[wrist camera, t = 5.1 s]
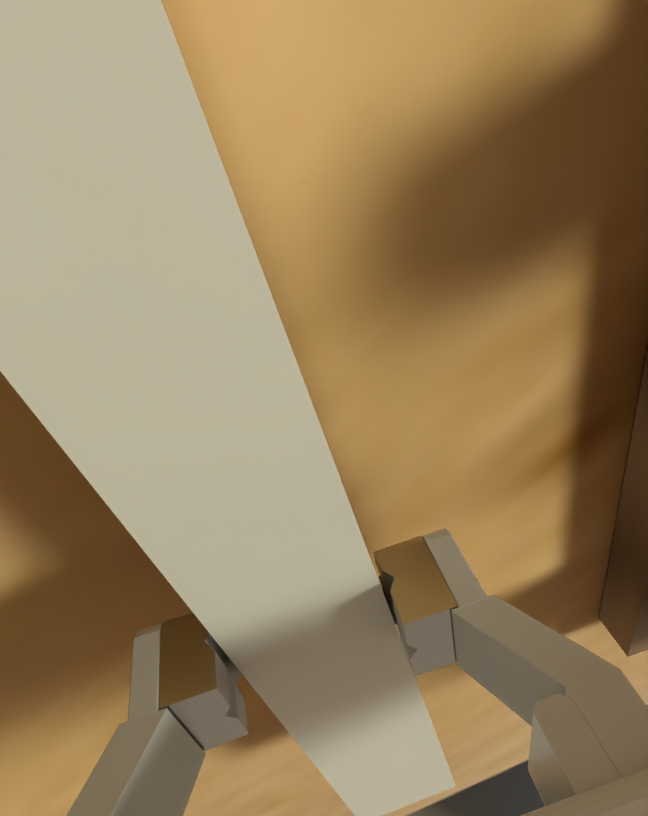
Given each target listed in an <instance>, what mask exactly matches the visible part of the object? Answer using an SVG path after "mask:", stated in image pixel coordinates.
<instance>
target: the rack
mask: <svg viewBox="0 0 648 816" xmlns="http://www.w3.org/2000/svg"><path fill="white" fill-rule="evenodd" d="M599 619H600V620H601V621H602V623H603V624H604V626H605V627H606V628H607V630H608V631H609V632H610V634H611V635H612V636H613V638H614V639H615V640H616V642H617V643H618V644H619V646H620V647H621V648H622V650H623V651H624V652H625V654H626V655H627V656H631V655H634V654H636V653H639V652H642V651H645V650H648V347H647V353H646V358H645V364H644V369H643V375H642V381H641V386H640V392H639V397H638V403H637V409H636V414H635V420H634V425H633V431H632V437H631V442H630V448H629V453H628V459H627V465H626V470H625V476H624V481H623V487H622V493H621V498H620V504H619V509H618V515H617V521H616V526H615V532H614V537H613V543H612V549H611V554H610V560H609V565H608V571H607V577H606V582H605V588H604V593H603V599H602V605H601V610H600V616H599Z"/></svg>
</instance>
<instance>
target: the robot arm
mask: <svg viewBox="0 0 648 816" xmlns="http://www.w3.org/2000/svg"><path fill="white" fill-rule="evenodd" d="M374 558H375V562H376V565H377V568H378V571H379V573H380V576H379V579H380V583H381V587H382V590H383V593H384V596H385V599H386V601H387V604H388V607H389V609H390V612H391V615H392V617H393V620H394V623H395V624H396V625H397V626H398V630H399V634H400V639H401V643H402V646H403V648H404V651H405V653H406V656H407V659H408V661H409V664H410V666H411V669H412V671H413V674H414V676H416V675H419V674H422V673H425V672H428V671H431V670H435V669H438V668H441V667H444V666H447V665H450V664H453V663H456V662H457V665H458V666H459V667H460V668H461V669H463V670H464V671H465V672H466V673H468V674H469V675H470V676H471V677H472V678H474V679H475V680H476V681H477V682H478V683H480V684H481V685H482V686H483V687H485V688H486V689H487V690H488V691H489V692H491V693H492V694H493V695H494V696H496V697H497V698H498V699H499V700H500V701H502V702H503V703H504V704H505V705H507V706H508V707H509V708H510V709H511V710H513V711H514V712H515V713H516V714H518V715H519V716H520V717H521V718H522V719H524V720H525V721H526V722H527V723H528V724H530V725H531V726H532V731H531V742H530V754H529V766H528V771H529V773H530V775H531V777H532V779H533V781H534V784H535V786H536V787H537V790H538V792H539V794H540V796H541V798H542V800H543V802H544V804H545V807H543V808H540V809H538V810H535V811H532V812H529V813H527V814H524V815H522V816H648V707H647V706H646V704H645V703H644V702H643V700H642V699H641V697H640V696H639V695H638V693H637V692H636V690H635V689H634V688H633V686H632V685H631V684H630V682H629V681H628V679H627V678H626V677H625V675H624V674H623V672H622V671H621V670H620V669H619V668H617V667H616V666H614V665H612V664H611V663H609V662H607V661H606V660H604V659H602V658H600V657H599V656H597V655H595V654H594V653H592V652H590V651H589V650H587V649H585V648H584V647H582V646H580V645H578V644H577V643H575V642H573V641H572V640H570V639H568V638H567V637H565V636H563V635H562V634H560V633H558V632H556V631H555V630H553V629H551V628H550V627H548V626H546V625H545V624H543V623H541V622H540V621H538V620H536V619H534V618H533V617H531V616H529V615H528V614H526V613H524V612H523V611H521V610H519V609H518V608H516V607H514V606H513V605H511V604H509V603H507V602H506V601H504V600H502V599H501V598H499V597H497V596H496V595H493V596H489V597H487V596H486V594H485V592H484V591H483V589H482V587H481V585H480V584H479V582H478V580H477V578H476V577H475V575H474V573H473V571H472V570H471V568H470V566H469V564H468V563H467V561H466V559H465V557H464V556H463V554H462V552H461V551H460V549H459V547H458V545H457V544H456V542H455V540H454V538H453V537H452V535H451V533H450V532H449V531H448V530H447V529H446V528H444V529H441V530H438V531H435V532H432V533H429V534H427V535H424V536H418V537H415V538H412V539H410V540H407V541H404V542H401V543H398V544H395V545H393V546H390V547H387V548H384V549H381V550H378V551H375V552H374ZM241 677H242V673H241V672H240V671H239V670H238V668H237V667H236V666H235V665H234V663H233V662H232V661H231V660H230V658H229V657H228V656H227V655H226V653H225V652H224V651H223V650H222V648H221V647H220V646H219V645H218V643H217V642H216V641H215V640H214V638H213V637H212V636H211V635H210V633H209V632H208V631H207V630H206V628H205V627H204V626H203V624H202V623H201V622H200V621H199V619H198V618H197V617H196V616H195V614H194V613H190V614H187V615H184V616H181V617H178V618H174V619H171V620H168V621H165V622H161V623H158V624H155V625H152V626H149V627H146V628H143V629H140V630H137V632H136V635H135V638H134V641H133V654H132V668H131V681H130V695H129V709H128V721H126V722H123V723H121V724H119V726H118V728H117V729H116V731H115V733H114V735H113V736H112V738H111V740H110V741H109V743H108V745H107V747H106V748H105V750H104V752H103V754H102V755H101V757H100V759H99V761H98V762H97V764H96V766H95V767H94V769H93V771H92V773H91V774H90V776H89V778H88V780H87V781H86V783H85V785H84V787H83V788H82V790H81V792H80V793H79V795H78V797H77V799H76V800H75V802H74V804H73V806H72V807H71V809H70V811H69V813H68V814H67V816H183V814H184V811H185V808H186V806H187V803H188V800H189V798H190V795H191V792H192V790H193V787H194V784H195V781H196V779H197V776H198V773H199V771H200V768H201V765H202V763H203V760H204V757H205V752H204V751H206V750H209V749H211V748H214V747H216V746H219V745H222V744H224V743H227V742H229V741H232V740H235V739H237V738H240V737H243V736H245V735H248V734H249V732H248V722H247V712H246V702H245V697H244V695H243V694H242V692H241V691H240V689H239V687H238V686H237V685H238V683H239V681H240V679H241Z"/></svg>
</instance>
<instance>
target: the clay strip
mask: <svg viewBox="0 0 648 816" xmlns="http://www.w3.org/2000/svg"><path fill="white" fill-rule="evenodd" d="M0 371H1V373H2V374H3V375H4V377H5V378H6V379H7V380H8V382H9V383H10V384H11V385H12V387H13V388H14V389H15V390H16V392H17V393H18V394H19V395H20V397H21V398H22V399H23V400H24V402H25V403H26V404H27V405H28V407H29V408H30V409H31V410H32V412H33V413H34V414H35V415H36V417H37V418H38V419H39V420H40V422H41V423H42V424H43V425H44V427H45V428H46V429H47V430H48V432H49V433H50V434H51V435H52V437H53V438H54V439H55V440H56V442H57V443H58V444H59V445H60V447H61V448H62V449H63V450H64V452H65V453H66V454H67V455H68V457H69V458H70V459H71V460H72V462H73V463H74V464H75V465H76V467H77V468H78V469H79V470H80V472H81V473H82V474H83V475H84V477H85V478H86V479H87V480H88V482H89V483H90V484H91V485H92V487H93V488H94V489H95V490H96V492H97V493H98V494H99V495H100V497H101V498H102V499H103V500H104V502H105V503H106V504H107V506H108V507H109V508H110V509H111V511H112V512H113V513H114V514H115V516H116V517H117V518H118V519H119V521H120V522H121V523H122V524H123V526H124V527H125V528H126V529H127V531H128V532H129V533H130V534H131V536H132V537H133V538H134V539H135V541H136V542H137V543H138V544H139V546H140V547H141V548H142V549H143V551H144V552H145V553H146V554H147V556H148V557H149V558H150V559H151V561H152V562H153V563H154V564H155V566H156V567H157V568H158V569H159V571H160V572H161V573H162V574H163V576H164V577H165V578H166V579H167V581H168V582H169V583H170V584H171V586H172V587H173V588H174V589H175V591H176V592H177V593H178V594H179V596H180V597H181V598H182V599H183V601H184V602H185V603H186V604H187V606H188V607H189V608H190V609H191V611H192V612H193V613H194V614H195V616H196V617H197V618H198V619H199V621H200V622H201V623H202V624H203V626H204V627H205V628H206V630H207V631H208V632H209V633H210V635H211V636H212V637H213V638H214V640H215V641H216V642H217V643H218V645H219V646H220V647H221V648H222V650H223V651H224V652H225V653H226V655H227V656H228V657H229V658H230V660H231V661H232V662H233V663H234V665H235V666H236V667H237V668H238V670H239V671H240V672H241V673H242V675H243V676H244V677H245V678H246V680H247V681H248V682H249V683H250V685H251V686H252V687H253V688H254V690H255V691H256V692H257V693H258V695H259V696H260V697H261V698H262V700H263V701H264V702H265V703H266V705H267V706H268V707H269V708H270V710H271V711H272V712H273V713H274V715H275V716H276V717H277V718H278V720H279V721H280V722H281V723H282V725H283V726H284V727H285V728H286V730H287V731H288V732H289V733H290V735H291V736H292V737H293V738H294V740H295V741H296V742H297V743H298V745H299V746H300V747H301V748H302V750H303V751H304V752H305V754H306V755H307V756H308V757H309V759H310V760H311V761H312V762H313V764H314V765H315V766H316V767H317V769H318V770H319V771H320V772H321V774H322V775H323V776H324V777H325V779H326V780H327V781H328V782H329V784H330V785H331V786H332V787H333V789H334V790H335V791H336V792H337V794H338V795H339V796H340V797H341V799H342V800H343V801H344V802H345V804H346V805H347V806H348V807H349V809H350V810H351V811H352V812H353V814H354V815H355V816H382V815H384V814H387V813H390V812H392V811H395V810H397V809H400V808H402V807H405V806H407V805H410V804H412V803H415V802H417V801H420V800H422V799H425V798H427V797H430V796H432V795H435V794H437V793H440V792H443V791H445V790H448V789H450V788H453V787H455V786H456V785H455V783H454V780H453V777H452V775H451V772H450V769H449V767H448V764H447V761H446V759H445V756H444V753H443V751H442V748H441V745H440V743H439V740H438V737H437V735H436V732H435V729H434V727H433V724H432V721H431V719H430V716H429V713H428V711H427V708H426V705H425V703H424V700H423V697H422V695H421V692H420V689H419V687H418V684H417V681H416V679H415V676H414V674H413V671H412V669H411V666H410V664H409V661H408V659H407V656H406V653H405V651H404V648H403V646H402V643H401V639H400V636H399V633H398V631H397V628H396V625H395V623H394V620H393V617H392V615H391V612H390V609H389V607H388V604H387V601H386V599H385V596H384V593H383V591H382V588H381V585H380V583H379V580H378V577H377V575H376V572H375V569H374V567H373V564H372V561H371V559H370V556H369V553H368V551H367V548H366V545H365V543H364V540H363V537H362V535H361V532H360V529H359V527H358V524H357V521H356V519H355V516H354V513H353V511H352V508H351V505H350V503H349V500H348V497H347V495H346V492H345V489H344V487H343V484H342V481H341V479H340V476H339V473H338V471H337V468H336V465H335V463H334V460H333V457H332V455H331V452H330V449H329V447H328V444H327V441H326V439H325V436H324V433H323V431H322V428H321V425H320V423H319V420H318V417H317V415H316V412H315V409H314V407H313V404H312V401H311V399H310V396H309V393H308V391H307V388H306V385H305V383H304V380H303V377H302V375H301V372H300V369H299V367H298V364H297V361H296V359H295V356H294V353H293V351H292V348H291V345H290V343H289V340H288V337H287V335H286V332H285V329H284V327H283V324H282V321H281V319H280V316H279V313H278V311H277V308H276V305H275V303H274V300H273V297H272V295H271V292H270V289H269V287H268V284H267V281H266V279H265V276H264V273H263V271H262V268H261V265H260V263H259V260H258V257H257V255H256V252H255V249H254V247H253V244H252V241H251V239H250V236H249V233H248V231H247V228H246V225H245V223H244V220H243V217H242V215H241V212H240V209H239V207H238V204H237V201H236V199H235V196H234V193H233V191H232V188H231V185H230V183H229V180H228V177H227V175H226V172H225V169H224V167H223V164H222V161H221V159H220V156H219V153H218V151H217V148H216V145H215V143H214V140H213V137H212V135H211V132H210V129H209V127H208V124H207V121H206V119H205V116H204V113H203V111H202V108H201V105H200V103H199V100H198V97H197V95H196V92H195V89H194V87H193V84H192V81H191V79H190V76H189V73H188V71H187V68H186V65H185V63H184V60H183V57H182V55H181V52H180V49H179V47H178V44H177V41H176V39H175V36H174V33H173V31H172V28H171V25H170V23H169V20H168V17H167V15H166V12H165V9H164V7H163V4H162V1H161V0H0Z"/></svg>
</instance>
